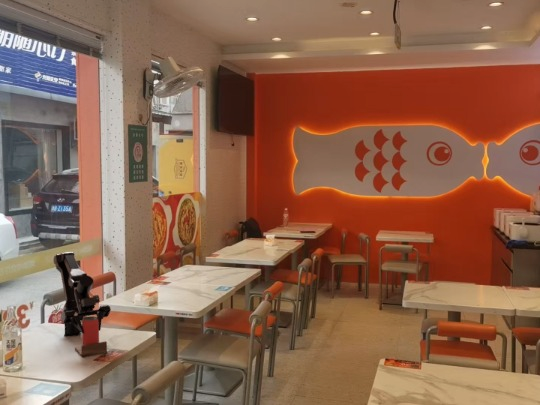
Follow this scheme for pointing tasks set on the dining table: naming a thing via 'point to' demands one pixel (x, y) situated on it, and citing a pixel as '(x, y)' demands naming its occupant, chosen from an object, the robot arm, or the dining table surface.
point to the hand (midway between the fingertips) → (91, 331)
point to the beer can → (90, 330)
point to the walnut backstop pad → (92, 349)
